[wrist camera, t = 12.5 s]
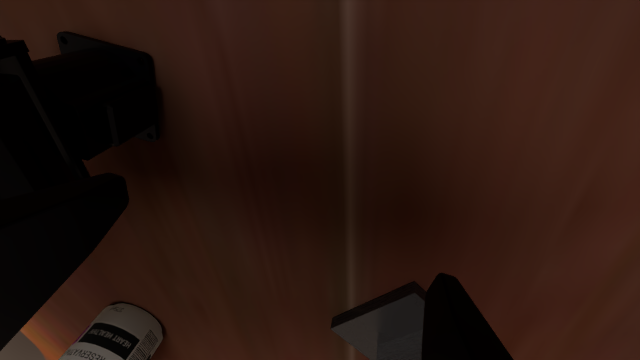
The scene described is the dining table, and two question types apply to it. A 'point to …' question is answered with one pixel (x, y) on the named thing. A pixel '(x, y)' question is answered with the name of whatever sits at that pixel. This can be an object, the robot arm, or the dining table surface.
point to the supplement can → (118, 336)
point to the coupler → (382, 319)
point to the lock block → (401, 348)
